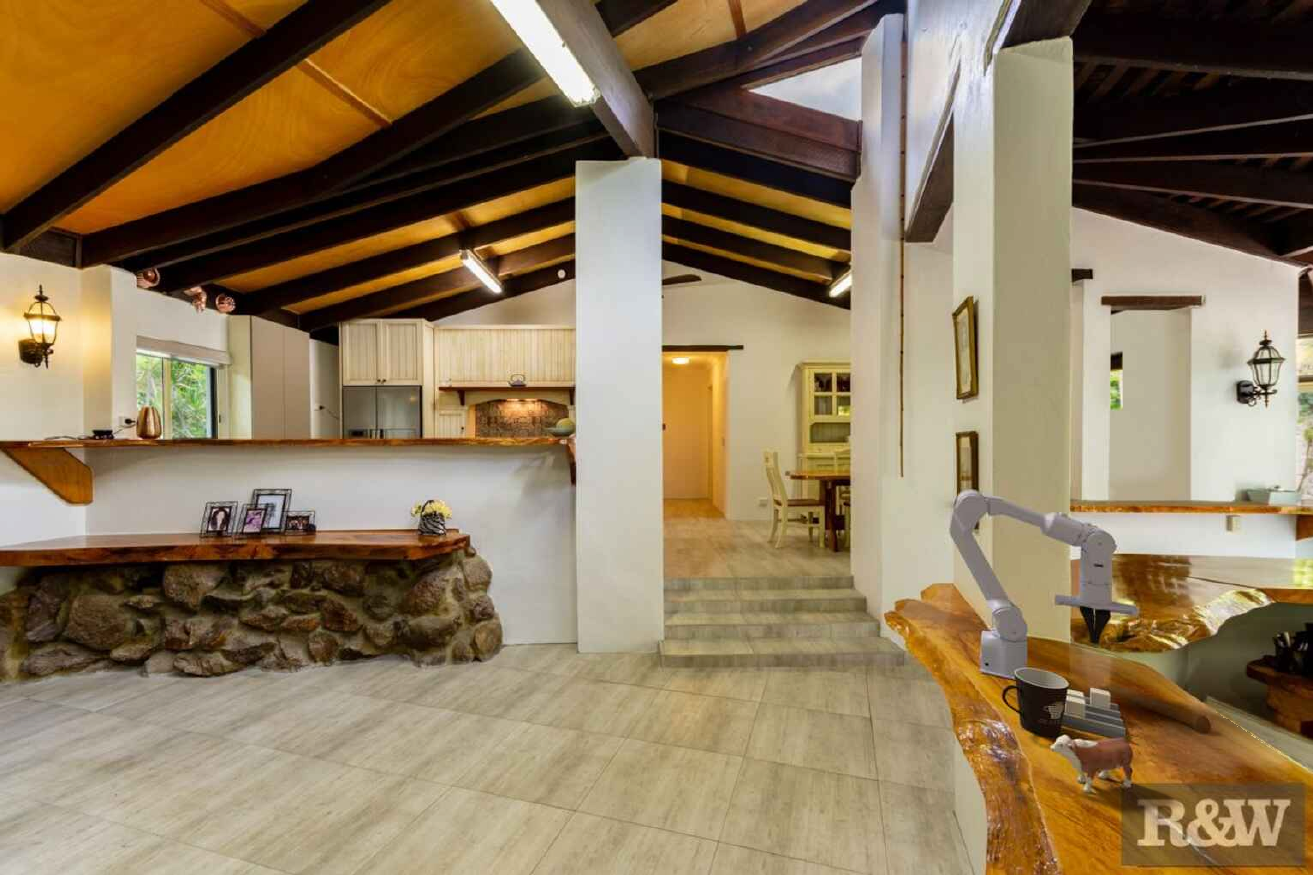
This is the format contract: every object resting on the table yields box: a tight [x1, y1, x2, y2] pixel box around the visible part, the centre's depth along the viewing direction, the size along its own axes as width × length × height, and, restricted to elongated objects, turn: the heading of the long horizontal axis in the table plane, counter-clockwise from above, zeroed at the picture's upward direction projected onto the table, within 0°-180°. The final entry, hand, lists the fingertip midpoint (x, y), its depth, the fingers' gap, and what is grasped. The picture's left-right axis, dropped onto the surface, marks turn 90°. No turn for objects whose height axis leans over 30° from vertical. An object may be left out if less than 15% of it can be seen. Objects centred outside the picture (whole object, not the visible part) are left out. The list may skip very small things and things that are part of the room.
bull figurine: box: [1050, 734, 1134, 795], centre depth 89 cm, size 4×13×8 cm, turn 95°
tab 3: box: [1089, 687, 1111, 709], centre depth 111 cm, size 3×2×3 cm
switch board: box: [1062, 696, 1127, 740], centre depth 109 cm, size 10×11×2 cm
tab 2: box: [1065, 696, 1085, 718], centre depth 108 cm, size 3×2×3 cm
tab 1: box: [1067, 688, 1085, 700], centre depth 110 cm, size 3×2×3 cm
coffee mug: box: [1001, 667, 1069, 739], centre depth 106 cm, size 12×9×10 cm
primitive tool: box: [1099, 683, 1212, 734], centre depth 114 cm, size 19×6×4 cm, turn 13°
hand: (1094, 641), depth 122 cm, fingers closed
